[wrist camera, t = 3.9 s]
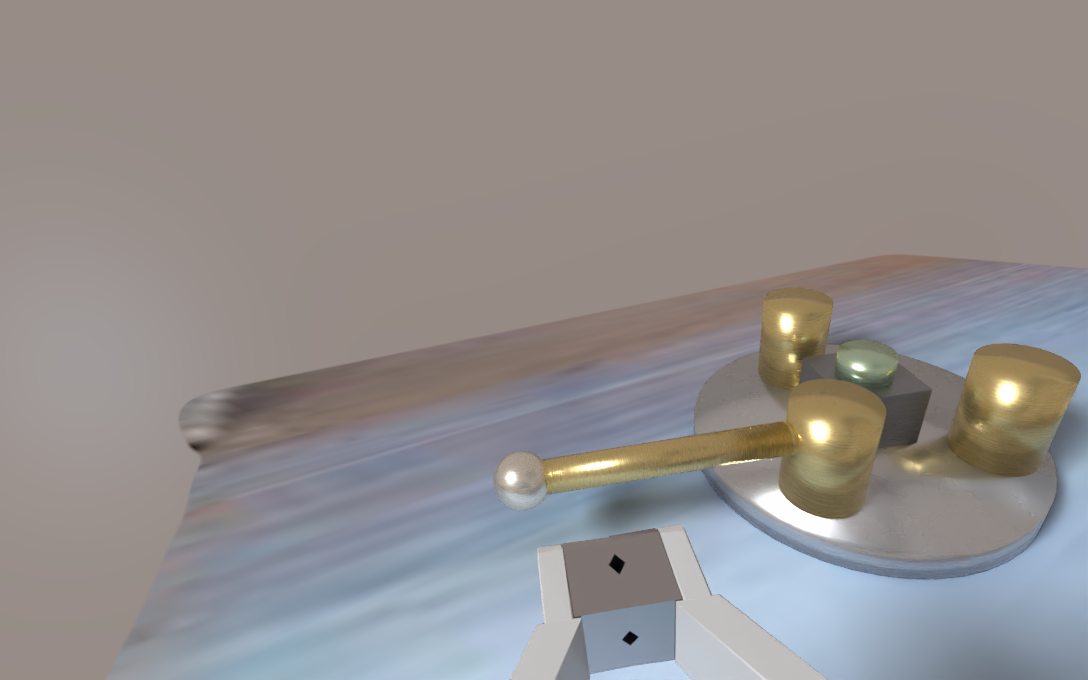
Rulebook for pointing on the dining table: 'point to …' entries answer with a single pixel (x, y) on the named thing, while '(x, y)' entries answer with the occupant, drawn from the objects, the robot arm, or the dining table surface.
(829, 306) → the tribrach
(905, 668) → the dining table surface
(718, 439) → the brass lever handle
